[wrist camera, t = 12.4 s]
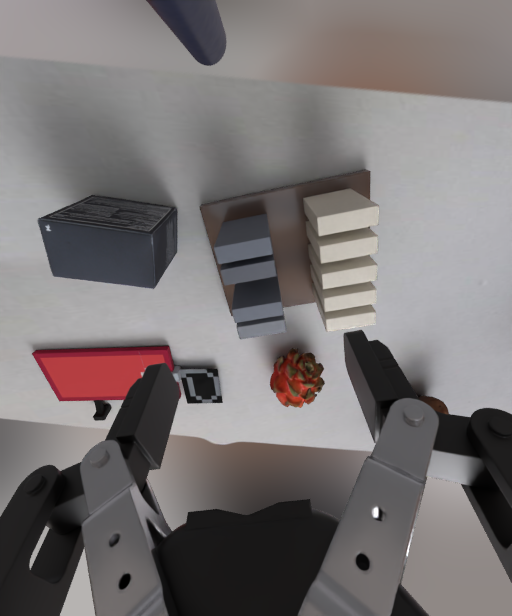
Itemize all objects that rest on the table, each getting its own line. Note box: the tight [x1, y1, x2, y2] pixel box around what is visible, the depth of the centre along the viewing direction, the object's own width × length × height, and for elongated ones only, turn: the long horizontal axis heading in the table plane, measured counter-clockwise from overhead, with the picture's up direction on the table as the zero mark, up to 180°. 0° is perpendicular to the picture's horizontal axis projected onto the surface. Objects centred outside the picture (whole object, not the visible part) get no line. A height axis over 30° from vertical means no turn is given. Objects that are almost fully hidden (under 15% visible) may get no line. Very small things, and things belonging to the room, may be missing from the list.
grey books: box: [214, 214, 286, 339], centre depth 34 cm, size 11×6×9 cm, turn 11°
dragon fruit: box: [270, 348, 325, 408], centre depth 46 cm, size 8×8×12 cm
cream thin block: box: [308, 244, 377, 289], centre depth 33 cm, size 2×6×9 cm, turn 101°
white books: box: [303, 189, 379, 332], centre depth 33 cm, size 13×6×9 cm, turn 11°
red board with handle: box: [32, 346, 223, 420], centre depth 50 cm, size 30×3×15 cm
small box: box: [38, 195, 177, 289], centre depth 32 cm, size 11×6×10 cm, turn 82°
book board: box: [200, 170, 370, 316], centre depth 38 cm, size 16×20×2 cm
